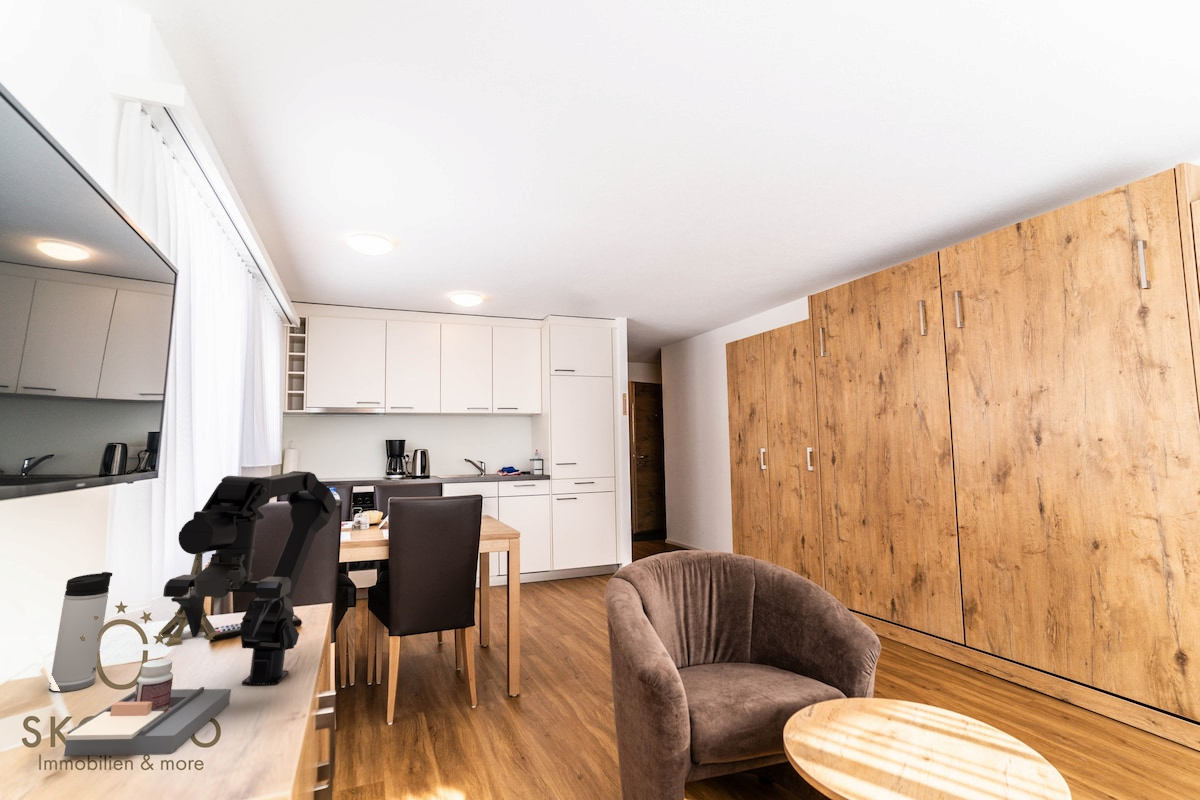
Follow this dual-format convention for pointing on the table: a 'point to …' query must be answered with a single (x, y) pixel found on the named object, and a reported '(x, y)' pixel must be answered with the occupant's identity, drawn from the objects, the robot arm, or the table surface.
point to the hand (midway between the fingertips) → (223, 636)
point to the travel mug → (80, 631)
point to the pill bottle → (155, 684)
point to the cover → (118, 722)
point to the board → (159, 725)
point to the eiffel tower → (182, 619)
